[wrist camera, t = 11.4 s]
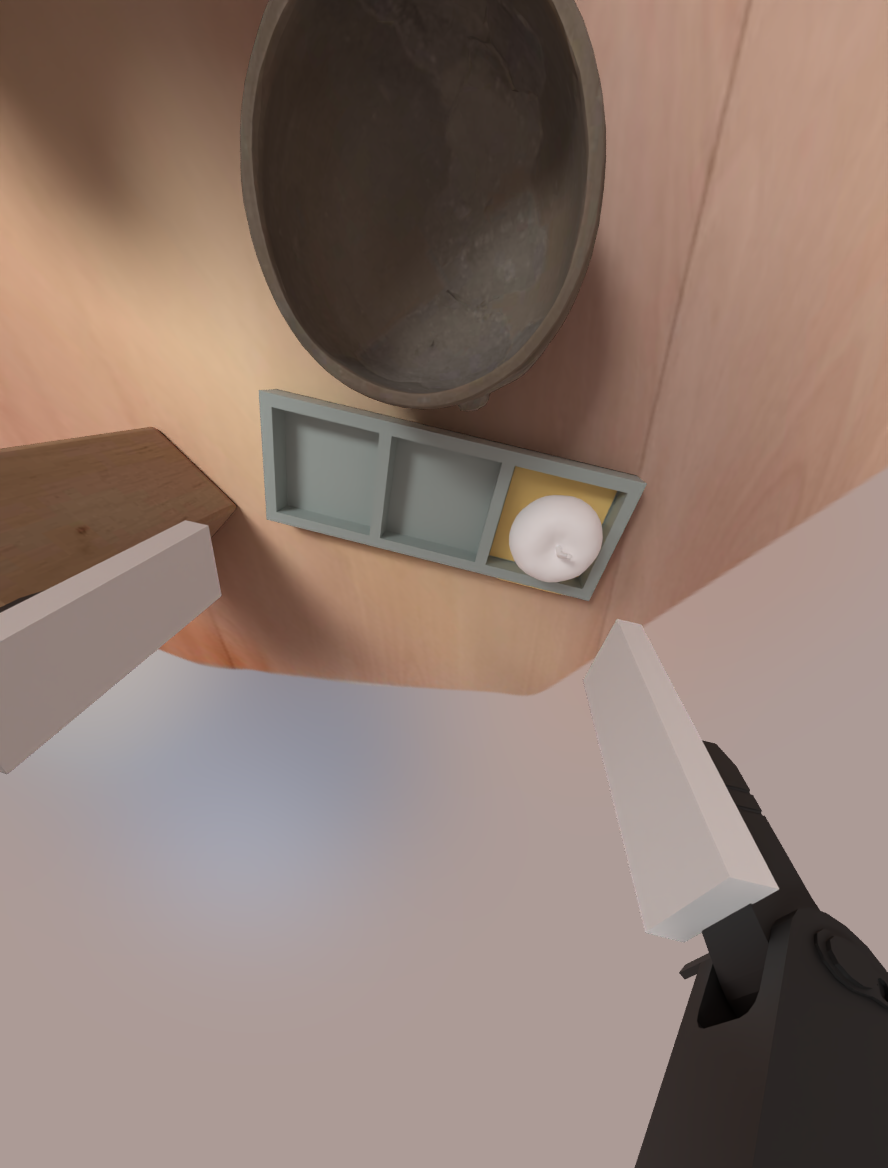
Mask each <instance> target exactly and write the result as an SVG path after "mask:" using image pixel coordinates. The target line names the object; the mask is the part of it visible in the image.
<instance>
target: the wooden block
mask: <svg viewBox="0 0 888 1168" xmlns="http://www.w3.org/2000/svg"><path fill="white" fill-rule="evenodd" d="M235 509H236V505H235V504H234V503H233V502H232V501H231V500H230V499H229V498H228V497H227V496H226V495H225V494H224V493H223V492H222V491H221V490H220V489H219V488H218V487H217V486H216V485H215V484H213V483H212V482H211V481H210V480H209V479H208V478H207V477H206V476H205V475H204V474H203V473H202V472H201V471H200V470H199V469H198V468H197V467H196V466H195V465H194V464H193V463H192V462H191V461H190V460H189V459H188V458H186V457H185V456H184V455H183V454H182V453H181V452H180V451H179V450H178V449H177V448H176V447H175V446H174V445H173V444H172V443H171V442H170V441H169V440H168V439H167V438H166V437H165V436H164V435H163V434H162V433H161V432H159V431H158V430H157V429H156V428H153V427H147V428H141V429H134V430H127V431H120V432H113V433H106V434H99V435H92V436H85V437H78V438H71V439H64V440H57V441H51V442H44V443H37V444H30V445H23V446H16V447H9V448H2V449H0V607H2V606H4V605H6V604H8V603H10V602H12V601H14V600H16V599H18V598H21V597H24V596H28V595H31V594H34V593H37V592H41V591H44V590H47V589H49V588H51V587H53V586H55V585H57V584H59V583H61V582H63V581H65V580H67V579H69V578H71V577H73V576H75V575H77V574H79V573H81V572H83V571H85V570H87V569H89V568H91V567H93V566H95V565H97V564H99V563H101V562H103V561H105V560H107V559H109V558H111V557H113V556H115V555H117V554H119V553H121V552H123V551H125V550H127V549H129V548H131V547H133V546H135V545H137V544H139V543H141V542H143V541H145V540H147V539H149V538H151V537H153V536H155V535H157V534H159V533H161V532H163V531H165V530H167V529H169V528H171V527H173V526H175V525H177V524H179V523H181V522H183V521H185V520H186V521H191V522H195V523H200V524H204V525H208V526H209V531H210V536H211V537H212V536H213V535H214V534H215V533H216V532H217V530H218V529H219V528H220V527H221V526H222V525H223V524H224V522H225V521H226V520H227V519H228V518H229V517H230V515H231V514H232V513H233V512H234V511H235Z"/></svg>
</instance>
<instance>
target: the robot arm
mask: <svg viewBox="0 0 888 1168" xmlns="http://www.w3.org/2000/svg"><path fill="white" fill-rule="evenodd" d="M221 596H222V595H221V589H220V584H219V579H218V573H217V568H216V563H215V558H214V552H213V547H212V542H211V536H210V531H209V526H208V525H204V524H200V523H195V522H191V521H186V520H185V521H183V522H181V523H179V524H177V525H175V526H173V527H171V528H169V529H167V530H165V531H163V532H161V533H159V534H157V535H155V536H153V537H151V538H149V539H147V540H145V541H143V542H141V543H139V544H137V545H135V546H133V547H131V548H129V549H127V550H125V551H123V552H121V553H119V554H117V555H115V556H113V557H111V558H109V559H107V560H105V561H103V562H101V563H99V564H97V565H95V566H93V567H91V568H89V569H87V570H85V571H83V572H81V573H79V574H77V575H75V576H73V577H71V578H69V579H67V580H65V581H63V582H61V583H59V584H57V585H55V586H53V587H51V588H49V589H47V590H44V591H41V592H37V593H34V594H31V595H28V596H24V597H21V598H18V599H16V600H14V601H12V602H10V603H8V604H6V605H4V606H2V607H0V772H2V773H5V774H8V773H9V772H11V771H12V770H13V769H14V768H16V767H17V766H18V765H19V764H20V763H22V762H23V761H24V760H25V759H26V758H28V757H29V756H30V755H31V754H32V753H34V752H35V751H36V750H37V749H38V748H40V747H41V746H42V745H43V744H44V743H46V742H47V741H48V740H49V739H50V738H52V737H53V736H54V735H55V734H56V733H58V732H59V731H60V730H61V729H62V728H63V727H65V726H66V725H67V724H68V723H69V722H71V721H72V720H73V719H74V718H76V717H77V716H78V715H79V714H80V713H82V712H83V711H84V710H85V709H86V708H88V707H89V706H90V705H91V704H92V703H94V702H95V701H96V700H97V699H98V698H100V697H101V696H102V695H103V694H104V693H106V692H107V691H108V690H109V689H110V688H112V687H113V686H114V685H115V684H117V683H118V682H119V681H120V680H121V679H123V678H124V677H125V676H126V675H127V674H129V673H130V672H131V671H132V670H133V669H135V668H136V667H137V666H138V665H139V664H141V663H142V662H143V661H144V660H145V659H147V658H148V657H149V656H150V655H151V654H153V653H154V652H155V651H156V650H157V649H159V648H160V647H161V646H162V645H163V644H165V643H166V642H167V641H168V640H169V639H171V638H172V637H173V636H174V635H175V634H177V633H178V632H179V631H180V630H181V629H183V628H184V627H185V626H186V625H187V624H189V623H190V622H191V621H192V620H193V619H195V618H196V617H197V616H198V615H199V614H201V613H202V612H203V611H204V610H205V609H207V608H208V607H209V606H210V605H211V604H213V603H214V602H215V601H216V600H217V599H219V598H220V597H221ZM583 682H584V687H585V691H586V695H587V699H588V703H589V707H590V711H591V715H592V719H593V723H594V727H595V731H596V735H597V739H598V743H599V747H600V751H601V756H602V759H603V764H604V768H605V772H606V776H607V780H608V784H609V788H610V792H611V796H612V800H613V804H614V808H615V812H616V816H617V820H618V824H619V829H620V832H621V836H622V841H623V845H624V849H625V853H626V856H627V861H628V865H629V869H630V873H631V877H632V881H633V885H634V889H635V893H636V897H637V901H638V905H639V910H640V913H641V917H642V922H643V926H644V930H645V933H648V934H652V935H656V936H660V937H665V938H668V939H672V940H676V941H681V942H686V941H688V940H689V939H691V938H693V937H695V936H697V935H698V934H700V933H702V934H703V937H704V939H705V942H706V945H707V948H708V951H709V953H708V954H706V955H704V956H702V957H700V958H698V959H696V960H694V961H692V962H690V963H688V964H686V965H685V966H684V967H683V969H682V970H681V971H680V972H679V973H680V974H681V976H682V977H683V978H684V979H687V978H689V977H691V976H693V975H696V974H697V976H696V979H695V982H694V985H693V988H692V991H691V994H690V998H689V1001H688V1004H687V1007H686V1010H685V1013H684V1016H683V1019H682V1022H681V1025H680V1029H679V1032H678V1035H677V1038H676V1041H675V1044H674V1047H673V1050H672V1053H671V1057H670V1060H669V1063H668V1066H667V1069H666V1072H665V1075H664V1078H663V1081H662V1084H661V1088H660V1091H659V1094H658V1097H657V1100H656V1103H655V1107H654V1110H653V1112H652V1116H651V1119H650V1122H649V1125H648V1128H647V1132H646V1134H645V1138H644V1141H643V1144H642V1147H641V1150H640V1153H639V1156H638V1159H637V1162H636V1165H635V1168H888V972H886V970H885V968H884V967H883V966H882V965H881V963H880V962H879V961H878V960H877V958H876V957H875V956H874V955H873V953H872V952H871V951H870V949H869V948H868V947H867V946H866V945H865V944H864V943H863V942H862V941H861V940H860V939H859V938H858V937H857V936H856V935H855V934H854V933H853V932H851V931H850V930H849V929H848V928H847V927H846V926H845V925H843V924H842V923H840V922H839V921H837V920H836V919H834V918H833V917H831V916H830V915H828V914H827V913H824V912H822V911H820V910H819V908H818V907H817V905H816V904H815V902H814V901H813V899H812V898H811V896H810V894H809V892H808V891H807V889H806V887H805V885H804V884H803V882H802V880H801V878H800V877H799V875H798V873H797V871H796V870H795V868H794V866H793V864H792V863H791V861H790V859H789V857H788V856H787V854H786V852H785V851H784V849H783V847H782V845H781V844H780V842H779V840H778V839H777V837H776V835H775V833H774V831H773V830H772V828H771V826H770V824H769V822H768V821H767V819H766V817H765V816H762V814H761V811H762V810H761V809H760V807H759V805H758V803H757V802H756V800H755V798H754V796H753V795H750V793H749V791H750V789H749V788H748V786H747V784H746V782H745V781H744V779H743V777H742V775H741V774H740V772H739V770H738V768H737V767H736V765H735V764H734V763H733V762H732V761H731V760H730V759H729V758H728V757H727V755H726V754H725V753H724V752H723V751H722V750H721V749H720V748H719V747H718V745H717V744H715V743H710V742H706V741H702V740H701V738H700V736H699V734H698V732H697V730H696V728H695V726H694V724H693V723H692V721H691V719H690V717H689V715H688V713H687V711H686V709H685V707H684V705H683V703H682V701H681V699H680V698H679V696H678V694H677V692H676V690H675V688H674V686H673V684H672V682H671V680H670V678H669V676H668V674H667V673H666V671H665V669H664V667H663V665H662V663H661V661H660V659H659V657H658V655H657V653H656V652H655V650H654V648H653V646H652V644H651V642H650V640H649V638H648V636H647V635H646V632H645V630H644V628H643V627H642V625H641V624H637V623H633V622H629V621H624V620H620V619H616V621H615V623H614V625H613V627H612V628H611V630H610V632H609V634H608V636H607V637H606V639H605V641H604V643H603V645H602V646H601V648H600V650H599V652H598V654H597V655H596V657H595V659H594V661H593V663H592V664H591V666H590V668H589V670H588V672H587V673H586V675H585V677H584V679H583Z"/></svg>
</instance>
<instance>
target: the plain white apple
mask: <svg viewBox="0 0 888 1168" xmlns="http://www.w3.org/2000/svg"><path fill="white" fill-rule="evenodd" d="M602 540H603V532H602V525H601V521H600V519H599V517H598V515H597V513H596V512H595V511H594V509H593V508H592V507H591V506H590V505H589V504H587V503H586V502H584V501H583V500H581V499H579V498H576V497H573V496H564V495H550V496H544V497H541V498H539V499H537V500H535V501H533V502H532V503H530V504H529V505H527V506H526V507H525V508H523V509H522V510H521V511H520V513H519V514H518V515H517V516H516V518H515V520H514V522H513V524H512V526H511V530H510V533H509V546H510V551H511V553H512V556H513V558H514V561H515V562H516V564H517V565H518V567H519V568H520V569H521V570H523V571H524V572H525V573H526V574H528V575H530V576H531V577H534V578H536V579H538V580H541V581H544V582H560V581H565V580H569V579H572V578H575V577H577V576H579V575H580V574H582V573H583V572H584V571H585V570H586V569H587V568H588V567H589V566H590V565H591V564H592V563H593V561H594V560H595V559H596V557H597V556H598V554H599V552H600V550H601V546H602Z"/></svg>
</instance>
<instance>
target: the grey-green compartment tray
mask: <svg viewBox="0 0 888 1168" xmlns="http://www.w3.org/2000/svg"><path fill="white" fill-rule="evenodd" d="M259 402H260V418H261V434H262V451H263V467H264V483H265V500H266V516H267V520H271V521H275V522H279V523H283V524H287V525H291V526H294V527H298V528H302V529H306V530H310V531H314V532H318V533H322V534H326V535H330V536H334V537H338V538H342V539H346V540H350V541H354V542H358V543H362V544H366V545H370V546H373V547H377V548H381V549H385V550H389V551H393V552H397V553H401V554H405V555H409V556H413V557H417V558H421V559H425V560H429V561H433V562H437V563H441V564H445V565H448V566H452V567H456V568H460V569H464V570H468V571H472V572H476V573H480V574H484V575H488V576H492V577H496V578H498V579H500V580H504V581H508V582H512V583H516V584H520V585H524V586H528V587H532V588H536V589H540V590H544V591H547V592H551V593H555V594H559V595H561V594H563V595H567V596H571V597H575V598H579V599H583V600H587V601H589V600H590V598H591V596H592V594H593V592H594V590H595V588H596V586H597V584H598V582H599V580H600V578H601V575H602V573H603V571H604V569H605V567H606V565H607V563H608V561H609V559H610V557H611V555H612V553H613V551H614V549H615V547H616V545H617V543H618V541H619V539H620V537H621V535H622V533H623V531H624V529H625V527H626V525H627V523H628V521H629V519H630V517H631V515H632V513H633V511H634V509H635V507H636V505H637V503H638V501H639V499H640V497H641V495H642V493H643V491H644V488H645V486H646V484H647V483H645V482H644V481H643V480H642V479H640V478H639V477H638V476H636V475H632V474H628V473H624V472H619V471H615V470H611V469H607V468H603V467H599V466H594V465H590V464H586V463H582V462H578V461H574V460H569V459H565V458H561V457H557V456H553V455H549V454H544V453H540V452H536V451H532V450H528V449H524V448H520V447H515V446H511V445H507V444H503V443H499V442H495V441H490V440H486V439H482V438H478V437H474V436H470V435H465V434H461V433H457V432H453V431H449V430H445V429H440V428H436V427H432V426H428V425H424V424H420V423H415V422H411V421H407V420H403V419H399V418H395V417H390V416H386V415H382V414H378V413H374V412H370V411H365V410H361V409H357V408H353V407H349V406H345V405H340V404H336V403H332V402H328V401H324V400H320V399H316V398H311V397H307V396H303V395H299V394H295V393H291V392H286V391H282V390H278V389H272V390H259ZM550 495H564V496H573V497H576V498H579V499H581V500H583V501H584V502H586V503H587V504H589V505H590V506H591V507H592V508H593V509H594V511H595V512H596V513H597V515H598V517H599V519H600V521H601V525H602V532H603V540H602V546H601V550H600V552H599V554H598V556H597V557H596V559H595V560H594V561H593V563H592V564H591V565H590V566H589V567H588V568H587V569H586V570H585V571H584V572H583V573H582V574H580V575H579V576H577V577H575V578H572V579H569V580H565V581H560V582H544V581H541V580H538V579H536V578H534V577H531V576H530V575H528V574H526V573H525V572H524V571H523V570H521V569H520V568H519V567H518V565H517V564H516V562H515V561H514V558H513V556H512V553H511V551H510V546H509V533H510V530H511V526H512V524H513V522H514V520H515V518H516V516H517V515H518V514H519V513H520V511H521V510H522V509H523V508H525V507H526V506H527V505H529V504H530V503H532V502H533V501H535V500H537V499H539V498H541V497H544V496H550Z"/></svg>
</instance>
